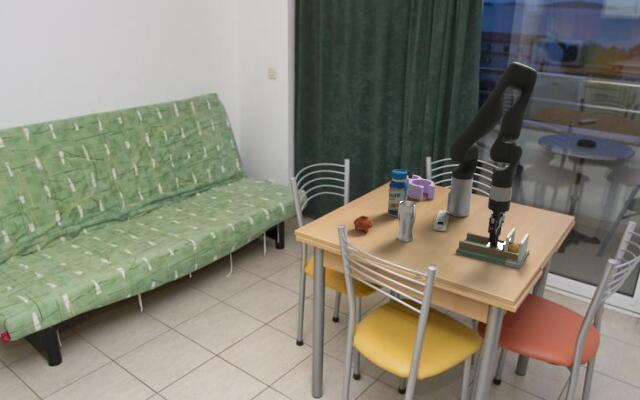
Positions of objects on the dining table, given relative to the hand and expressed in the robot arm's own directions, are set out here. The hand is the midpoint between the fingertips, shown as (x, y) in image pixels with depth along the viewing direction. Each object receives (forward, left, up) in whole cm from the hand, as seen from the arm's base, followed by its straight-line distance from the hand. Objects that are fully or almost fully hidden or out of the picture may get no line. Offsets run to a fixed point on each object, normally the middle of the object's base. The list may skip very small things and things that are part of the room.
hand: (494, 238), depth 194 cm
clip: (-50, +48, -6) cm, 70 cm away
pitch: (0, 0, -6) cm, 6 cm away
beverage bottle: (-47, +17, -6) cm, 50 cm away
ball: (+7, 0, -2) cm, 8 cm away
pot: (-51, -8, -6) cm, 52 cm away
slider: (+2, 0, -4) cm, 4 cm away
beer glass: (-33, -6, -6) cm, 34 cm away
